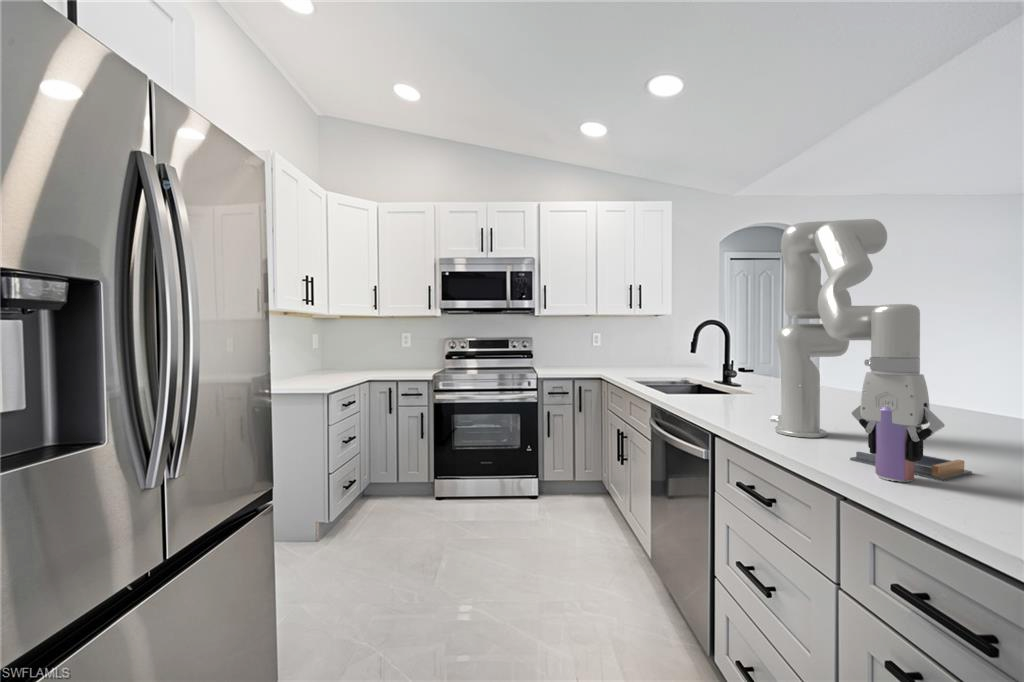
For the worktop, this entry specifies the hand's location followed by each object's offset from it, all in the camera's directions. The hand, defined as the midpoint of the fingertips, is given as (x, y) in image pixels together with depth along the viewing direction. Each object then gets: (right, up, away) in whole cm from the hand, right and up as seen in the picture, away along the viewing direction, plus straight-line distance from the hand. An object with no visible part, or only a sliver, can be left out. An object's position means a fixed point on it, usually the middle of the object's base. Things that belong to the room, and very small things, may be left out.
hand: (894, 455), depth 93 cm
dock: (+9, -4, +9) cm, 13 cm away
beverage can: (0, -5, 0) cm, 5 cm away
